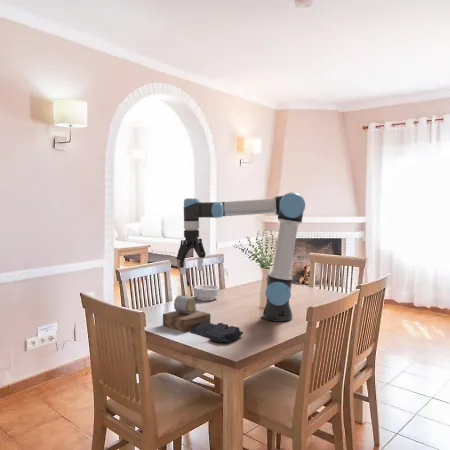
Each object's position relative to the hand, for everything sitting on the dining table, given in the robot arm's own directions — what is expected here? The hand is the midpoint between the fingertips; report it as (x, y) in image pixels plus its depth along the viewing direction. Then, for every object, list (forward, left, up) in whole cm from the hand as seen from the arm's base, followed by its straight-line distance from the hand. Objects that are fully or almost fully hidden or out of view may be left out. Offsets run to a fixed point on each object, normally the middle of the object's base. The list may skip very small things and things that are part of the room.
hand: (191, 272), depth 209 cm
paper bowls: (+22, -39, -24) cm, 51 cm away
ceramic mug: (-5, +8, -19) cm, 21 cm away
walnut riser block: (-4, +8, -25) cm, 26 cm away
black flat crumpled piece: (-23, +10, -25) cm, 35 cm away
